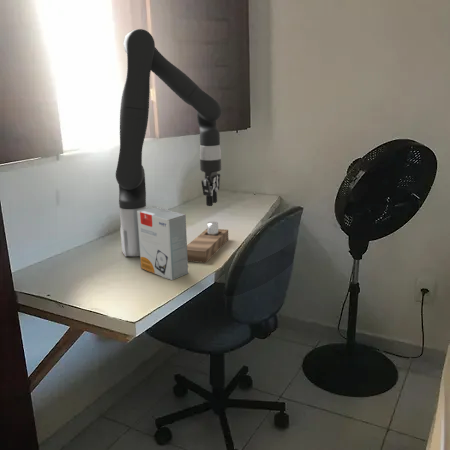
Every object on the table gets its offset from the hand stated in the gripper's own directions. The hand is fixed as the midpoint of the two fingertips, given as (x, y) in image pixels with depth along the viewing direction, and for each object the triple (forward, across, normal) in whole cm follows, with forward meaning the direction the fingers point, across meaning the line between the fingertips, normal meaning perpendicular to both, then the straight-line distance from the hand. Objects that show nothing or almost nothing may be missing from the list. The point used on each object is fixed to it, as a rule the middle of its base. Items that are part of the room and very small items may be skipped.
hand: (211, 203), depth 186 cm
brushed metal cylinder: (+15, 0, 0) cm, 15 cm away
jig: (+15, -7, 0) cm, 17 cm away
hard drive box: (+16, -30, +6) cm, 34 cm away
